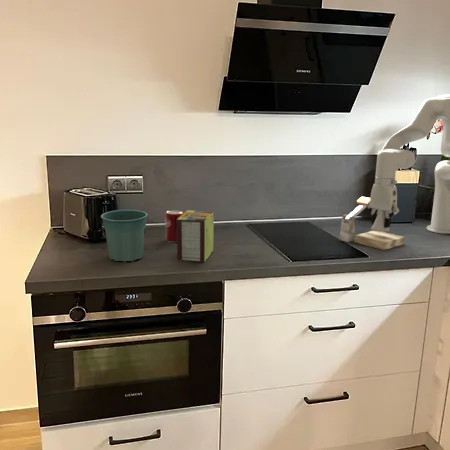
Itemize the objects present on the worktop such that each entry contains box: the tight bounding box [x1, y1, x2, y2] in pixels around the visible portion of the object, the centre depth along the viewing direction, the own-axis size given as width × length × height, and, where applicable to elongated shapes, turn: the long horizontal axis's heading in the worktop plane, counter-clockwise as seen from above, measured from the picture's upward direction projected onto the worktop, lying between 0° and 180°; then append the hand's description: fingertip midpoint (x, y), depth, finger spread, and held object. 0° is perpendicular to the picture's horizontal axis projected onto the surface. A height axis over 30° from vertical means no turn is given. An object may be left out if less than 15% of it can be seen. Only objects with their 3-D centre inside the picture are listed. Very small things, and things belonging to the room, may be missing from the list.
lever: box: [345, 196, 370, 222], centre depth 219 cm, size 15×6×3 cm, turn 129°
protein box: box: [176, 209, 215, 263], centre depth 193 cm, size 10×15×16 cm
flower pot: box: [100, 209, 148, 262], centre depth 189 cm, size 16×16×16 cm
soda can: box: [164, 209, 184, 243], centre depth 212 cm, size 7×7×12 cm
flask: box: [370, 210, 390, 233], centre depth 212 cm, size 7×7×10 cm
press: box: [339, 214, 405, 251], centre depth 215 cm, size 16×20×10 cm
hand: (380, 225), depth 213 cm, fingers closed on flask, 5 cm apart
